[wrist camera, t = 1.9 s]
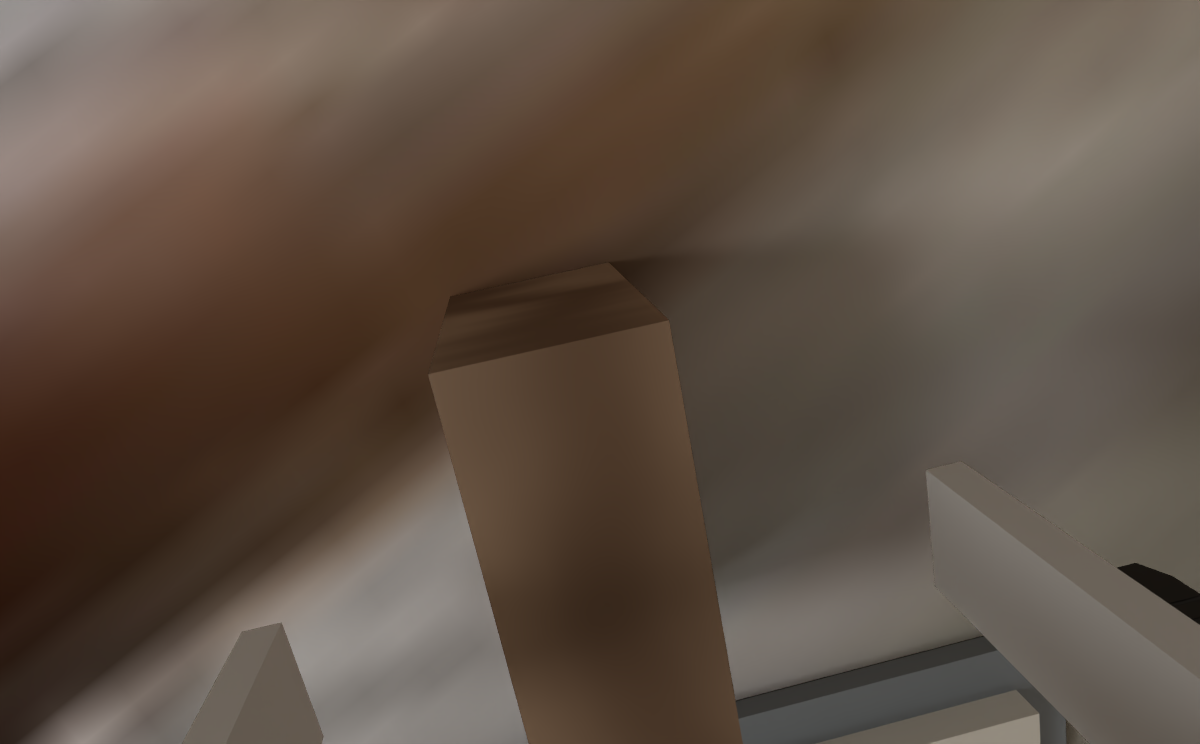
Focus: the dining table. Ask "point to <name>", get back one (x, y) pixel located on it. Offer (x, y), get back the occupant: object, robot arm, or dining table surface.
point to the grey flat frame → (910, 704)
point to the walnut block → (586, 509)
